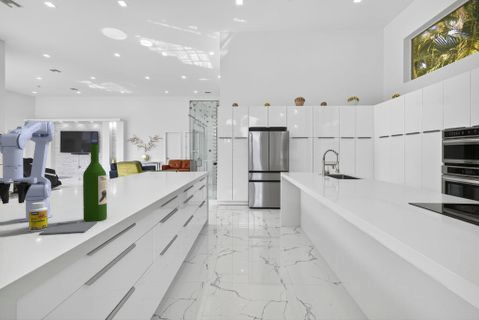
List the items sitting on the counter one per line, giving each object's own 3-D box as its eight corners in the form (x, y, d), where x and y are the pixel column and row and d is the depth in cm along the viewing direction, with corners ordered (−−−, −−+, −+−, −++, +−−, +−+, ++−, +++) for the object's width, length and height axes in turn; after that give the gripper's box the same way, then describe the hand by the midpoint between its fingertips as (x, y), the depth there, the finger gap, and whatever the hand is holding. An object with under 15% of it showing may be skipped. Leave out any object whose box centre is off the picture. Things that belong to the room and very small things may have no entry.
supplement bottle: (28, 233, 95) (27, 204, 95) (29, 229, 100) (29, 202, 100) (47, 230, 98) (47, 203, 98) (48, 227, 103) (47, 201, 103)
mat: (58, 224, 107) (58, 223, 107) (97, 222, 109) (97, 221, 109) (39, 235, 93) (39, 233, 93) (84, 232, 96) (84, 230, 96)
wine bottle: (100, 222, 111) (99, 144, 110) (78, 222, 111) (77, 144, 110) (110, 217, 119) (110, 145, 119) (91, 217, 120) (90, 145, 119)
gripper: (-19, 166, 92) (-18, 206, 92) (29, 166, 95) (29, 204, 95) (-5, 166, 99) (-4, 202, 99) (39, 165, 101) (40, 201, 102)
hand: (13, 203), depth 97 cm, fingers open, 4 cm apart
